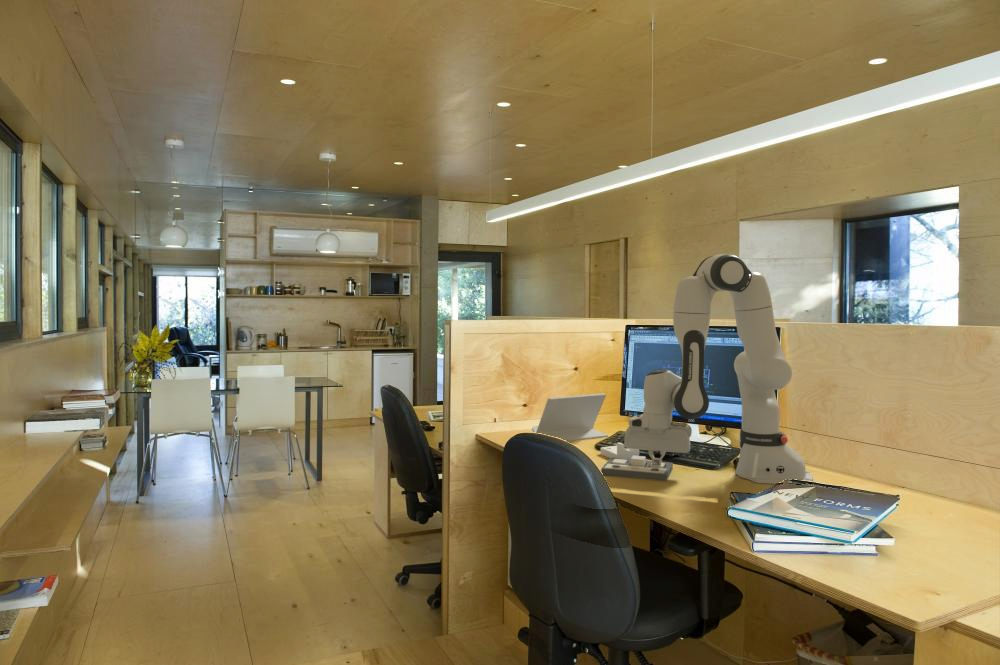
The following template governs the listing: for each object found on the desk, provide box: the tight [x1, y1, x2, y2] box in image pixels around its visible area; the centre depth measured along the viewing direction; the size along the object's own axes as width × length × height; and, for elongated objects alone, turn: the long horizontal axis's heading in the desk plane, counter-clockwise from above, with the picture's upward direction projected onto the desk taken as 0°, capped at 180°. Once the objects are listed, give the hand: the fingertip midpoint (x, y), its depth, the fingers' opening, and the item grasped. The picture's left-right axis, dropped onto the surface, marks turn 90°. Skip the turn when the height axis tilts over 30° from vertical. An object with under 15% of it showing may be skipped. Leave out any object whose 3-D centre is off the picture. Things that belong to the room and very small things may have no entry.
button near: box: [650, 463, 665, 469], centre depth 223 cm, size 4×4×2 cm
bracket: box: [600, 442, 640, 459], centre depth 241 cm, size 13×7×8 cm, turn 24°
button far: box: [612, 459, 627, 465], centre depth 227 cm, size 4×4×2 cm
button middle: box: [631, 455, 647, 467], centre depth 225 cm, size 4×4×2 cm
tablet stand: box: [531, 392, 609, 442], centre depth 278 cm, size 18×25×17 cm
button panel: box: [600, 457, 674, 482], centre depth 223 cm, size 20×14×3 cm
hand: (656, 464), depth 222 cm, fingers closed, pressing on button near
